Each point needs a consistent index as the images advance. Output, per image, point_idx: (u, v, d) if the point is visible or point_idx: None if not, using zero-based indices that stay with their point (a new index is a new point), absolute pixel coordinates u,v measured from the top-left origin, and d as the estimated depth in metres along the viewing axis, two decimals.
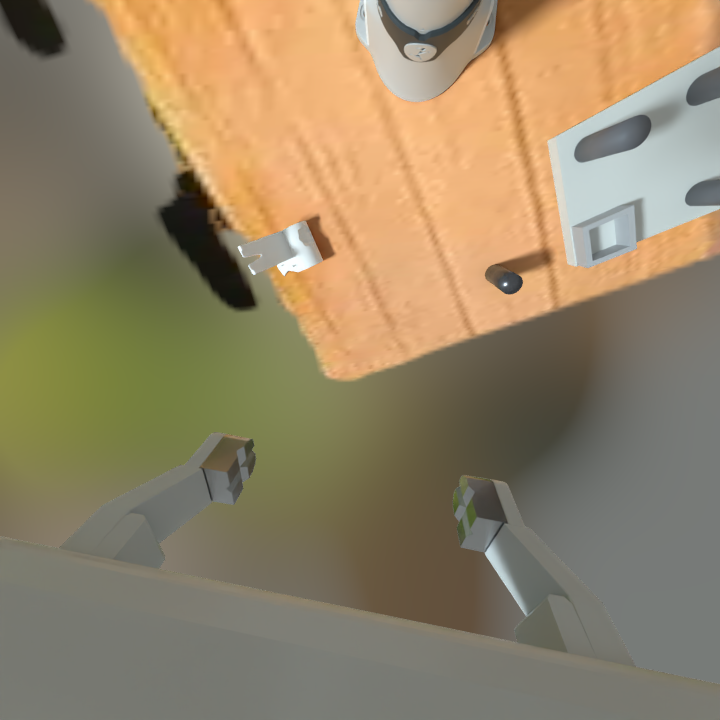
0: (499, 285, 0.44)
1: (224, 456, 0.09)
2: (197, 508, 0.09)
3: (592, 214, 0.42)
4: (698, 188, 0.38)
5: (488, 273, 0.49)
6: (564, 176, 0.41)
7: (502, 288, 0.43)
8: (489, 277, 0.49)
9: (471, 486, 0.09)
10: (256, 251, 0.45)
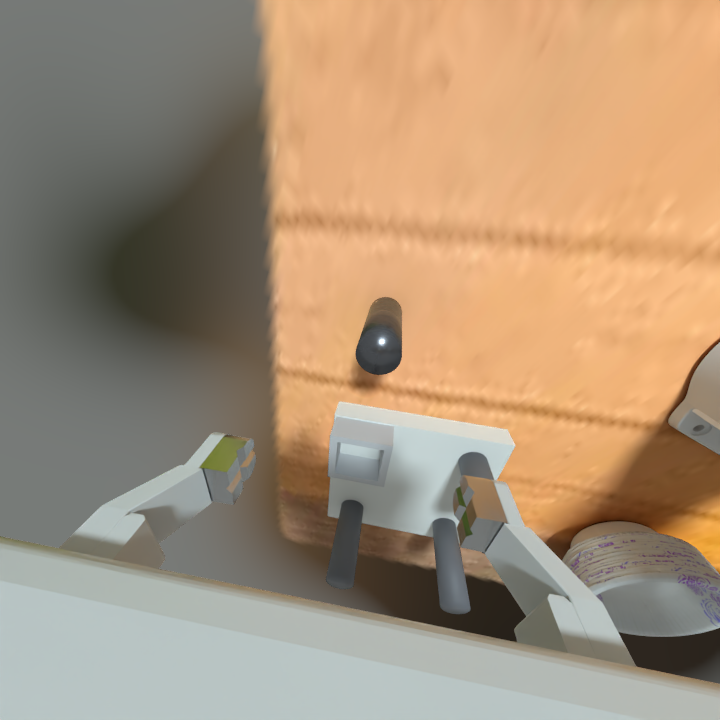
0: (387, 331, 0.18)
1: (224, 456, 0.09)
2: (197, 508, 0.09)
3: (394, 445, 0.31)
4: (360, 512, 0.36)
5: (396, 306, 0.24)
6: (462, 438, 0.29)
7: (380, 336, 0.18)
8: (391, 307, 0.23)
9: (471, 486, 0.09)
10: None
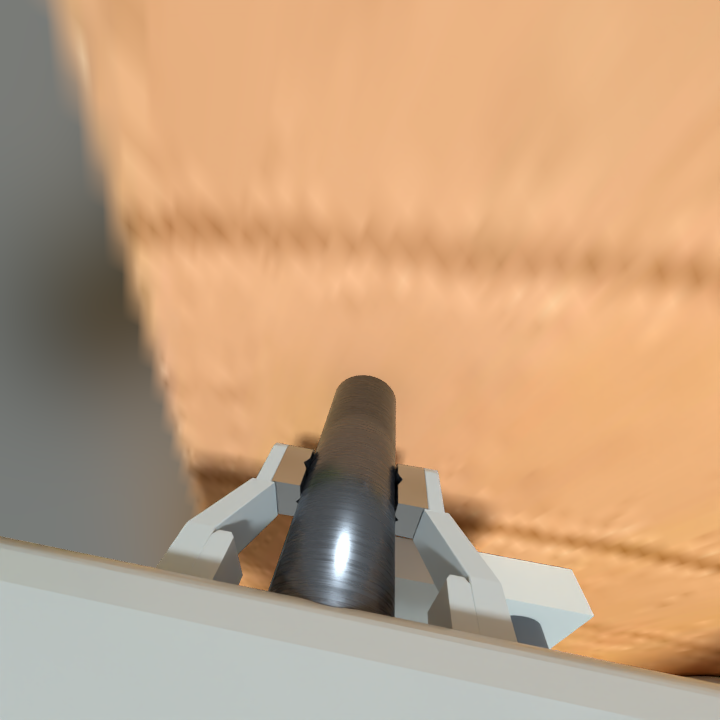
0: (351, 574, 0.06)
1: (293, 468, 0.09)
2: (266, 521, 0.09)
3: None
4: None
5: (385, 402, 0.12)
6: None
7: None
8: (373, 415, 0.11)
9: (401, 474, 0.09)
10: None
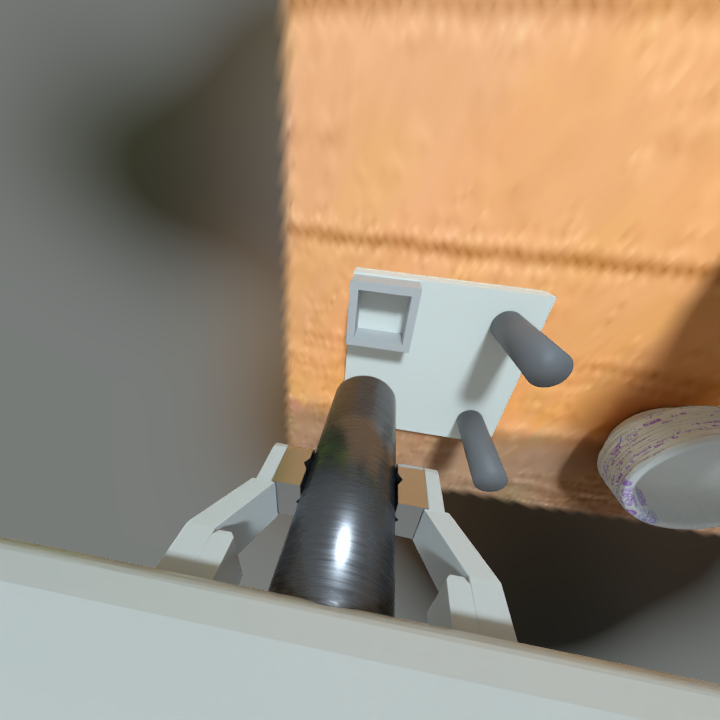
0: (351, 574, 0.06)
1: (293, 468, 0.09)
2: (266, 522, 0.09)
3: (419, 310, 0.28)
4: None
5: (385, 402, 0.12)
6: (497, 293, 0.26)
7: None
8: (373, 415, 0.11)
9: (401, 474, 0.09)
10: None
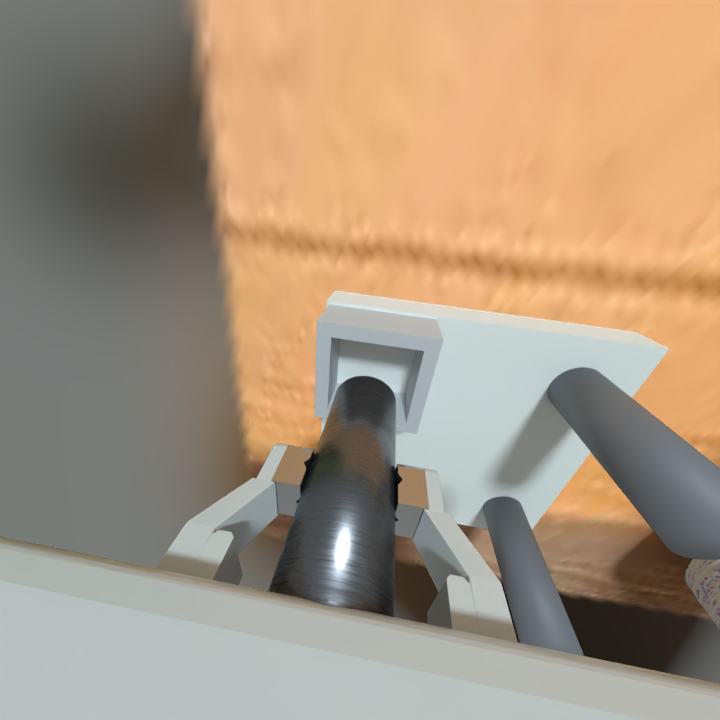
0: (351, 575, 0.06)
1: (293, 468, 0.09)
2: (266, 521, 0.09)
3: None
4: None
5: (385, 403, 0.12)
6: (565, 339, 0.16)
7: None
8: (373, 415, 0.11)
9: (401, 474, 0.09)
10: None
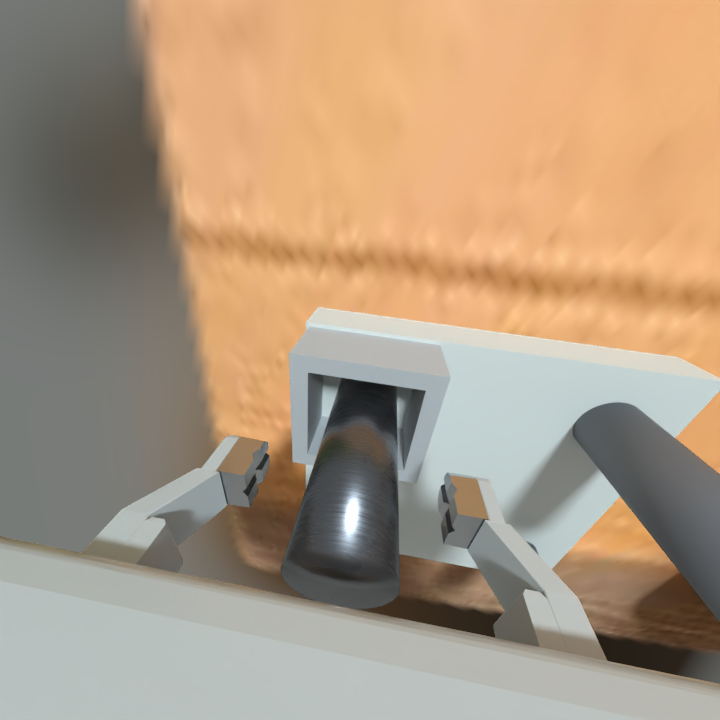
0: (362, 523, 0.07)
1: (240, 459, 0.09)
2: (213, 511, 0.09)
3: None
4: None
5: (387, 387, 0.13)
6: (598, 370, 0.13)
7: (341, 554, 0.06)
8: (376, 398, 0.12)
9: (454, 483, 0.09)
10: None
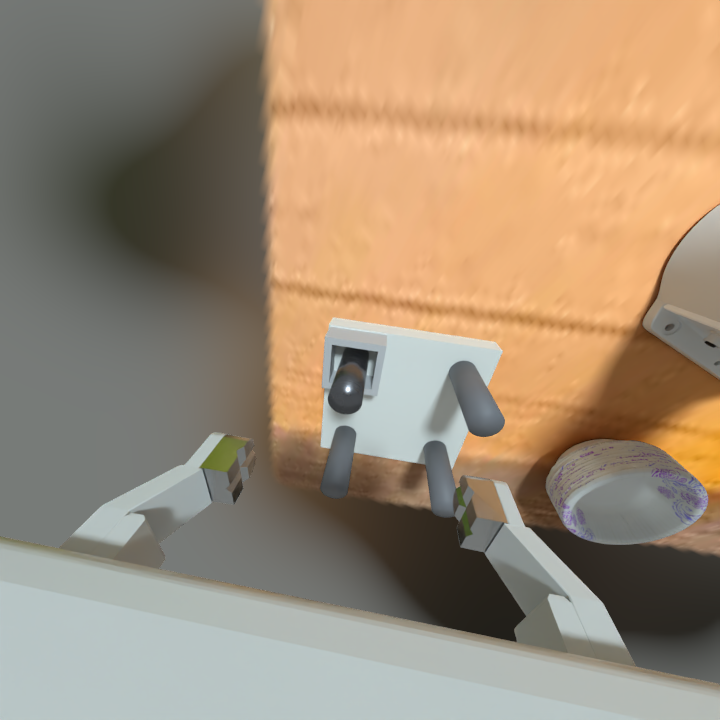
0: (351, 383, 0.24)
1: (224, 456, 0.09)
2: (197, 508, 0.09)
3: (387, 358, 0.32)
4: (353, 436, 0.37)
5: (363, 353, 0.30)
6: (452, 346, 0.31)
7: (345, 388, 0.24)
8: (358, 355, 0.29)
9: (471, 486, 0.09)
10: None
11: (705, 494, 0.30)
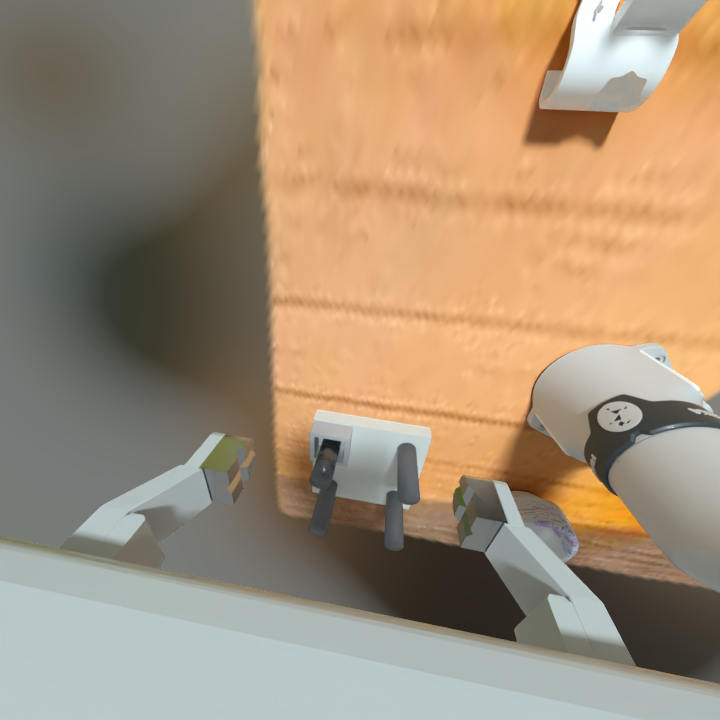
0: (324, 471, 0.39)
1: (224, 456, 0.09)
2: (197, 508, 0.09)
3: (354, 439, 0.46)
4: (334, 487, 0.52)
5: None
6: (398, 434, 0.45)
7: (320, 475, 0.38)
8: (332, 443, 0.44)
9: (471, 486, 0.09)
10: None
11: (574, 537, 0.44)
